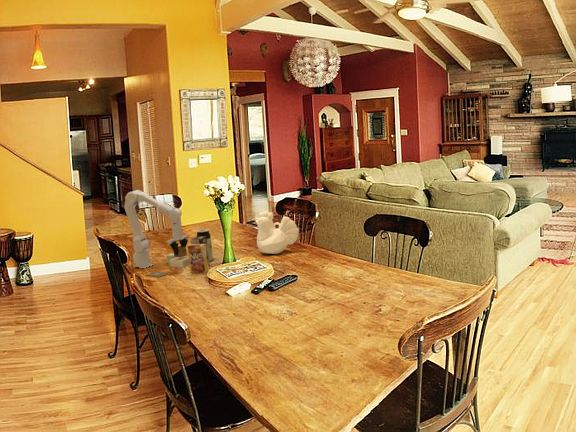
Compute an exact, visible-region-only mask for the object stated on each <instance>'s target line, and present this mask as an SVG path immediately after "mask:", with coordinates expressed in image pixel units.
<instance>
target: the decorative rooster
mask: <svg viewBox="0 0 576 432" xmlns="http://www.w3.org/2000/svg"><path fill="white" fill-rule="evenodd" d="M273 219H274V213H273V212H272V211H271V212H269V211H268V210H267V211H265V210H264V211H261V212H259V213H258V218H257V219H256V220H255V221H254V222H255V223H256V224H257V236H256V246H257V248H258V250H259V251H260V252H262V253H263V254H273V255H275V254H276V255H277V254H280V253H282V252H283V251H284V250H285V249H286V247H287V246H290V245H293V244H294V243H295V242H296V241H297V240H298V237H299V234H300V229H299V227H298V226H297V224H296V222H295V221H294V220H293V219H291V218H290V217H288V216H283V217H282V219H281V221H280V222H279V221H278V222H274V221H273ZM276 226H278V227H276Z"/></svg>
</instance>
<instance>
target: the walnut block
mask: <svg viewBox="0 0 576 432" xmlns="http://www.w3.org/2000/svg"><path fill="white" fill-rule="evenodd" d="M183 256H185V257H187V256H188V251H187V246H186V247H183V246H181V245H180V246H179V245H178V255H175V254H174V257H183Z"/></svg>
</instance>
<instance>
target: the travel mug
mask: <svg viewBox="0 0 576 432" xmlns="http://www.w3.org/2000/svg"><path fill="white" fill-rule="evenodd" d="M196 233H197V234H196V236H195V237H199V236H206V238H207V247H208V255H209V262H211V261H213V260H214V256H213V247H212V246H213V245H212V237H211V233H210V228H201V229H200V228H199V229H197V230H196Z"/></svg>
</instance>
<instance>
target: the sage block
mask: <svg viewBox="0 0 576 432" xmlns="http://www.w3.org/2000/svg"><path fill="white" fill-rule="evenodd" d="M165 257H166V262H167V265H170V260H171V259H174V258H177V257H174V252H173V253H172V252H171V253H170V252H169V253H168V254H167V255H166V256H165Z"/></svg>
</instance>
